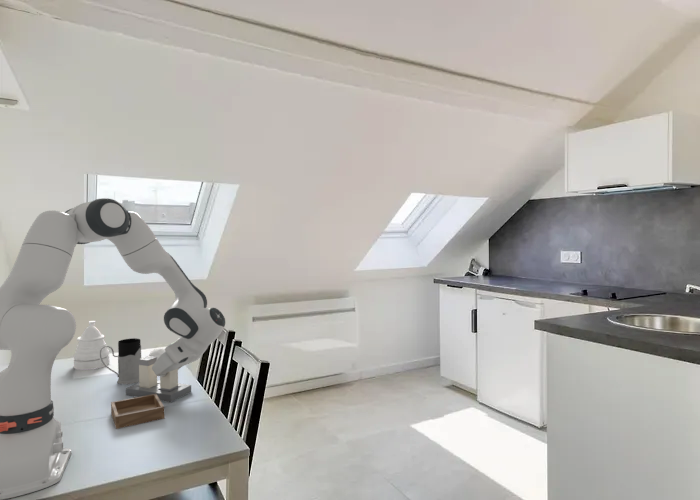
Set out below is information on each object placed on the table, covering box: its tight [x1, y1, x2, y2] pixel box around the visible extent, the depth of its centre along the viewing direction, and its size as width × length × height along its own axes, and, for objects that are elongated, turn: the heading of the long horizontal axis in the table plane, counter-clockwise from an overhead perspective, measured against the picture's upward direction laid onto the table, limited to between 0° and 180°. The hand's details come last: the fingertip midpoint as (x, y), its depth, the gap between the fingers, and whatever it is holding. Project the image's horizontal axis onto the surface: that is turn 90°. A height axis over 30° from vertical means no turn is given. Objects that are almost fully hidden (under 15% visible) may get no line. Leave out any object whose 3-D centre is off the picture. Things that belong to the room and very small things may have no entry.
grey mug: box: [100, 337, 142, 385], centre depth 168 cm, size 9×14×15 cm, turn 112°
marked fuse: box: [159, 368, 179, 392], centre depth 153 cm, size 4×4×12 cm
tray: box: [110, 394, 166, 430], centre depth 137 cm, size 13×13×4 cm
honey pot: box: [73, 320, 111, 371], centre depth 187 cm, size 13×13×18 cm
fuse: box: [138, 355, 158, 389], centre depth 157 cm, size 4×4×12 cm
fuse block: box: [125, 379, 192, 403], centre depth 155 cm, size 19×10×2 cm, turn 70°
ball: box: [148, 347, 165, 359], centre depth 186 cm, size 8×8×8 cm
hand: (167, 373), depth 154 cm, fingers closed on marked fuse, 4 cm apart
